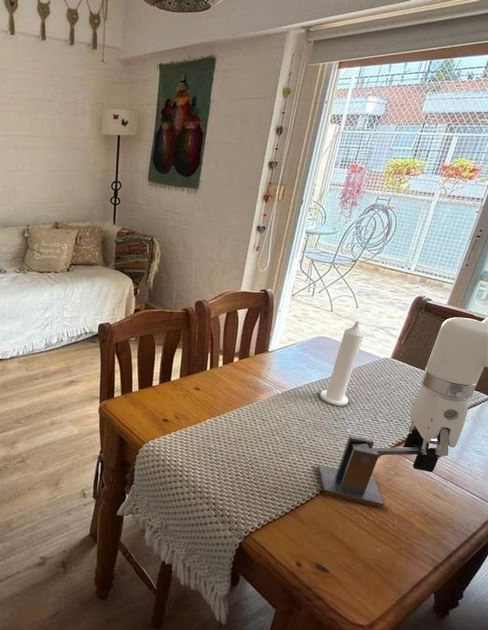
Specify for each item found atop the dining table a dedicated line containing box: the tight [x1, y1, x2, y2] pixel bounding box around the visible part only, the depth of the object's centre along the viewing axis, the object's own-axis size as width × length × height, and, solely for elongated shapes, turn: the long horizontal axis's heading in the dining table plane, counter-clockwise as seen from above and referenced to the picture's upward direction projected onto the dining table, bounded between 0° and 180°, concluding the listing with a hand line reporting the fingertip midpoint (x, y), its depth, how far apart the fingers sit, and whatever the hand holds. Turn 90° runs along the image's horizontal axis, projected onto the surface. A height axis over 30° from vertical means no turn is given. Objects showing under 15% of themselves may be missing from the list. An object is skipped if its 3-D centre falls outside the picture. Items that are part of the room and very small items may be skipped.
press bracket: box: [317, 435, 385, 509], centre depth 94 cm, size 11×8×12 cm
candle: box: [319, 320, 365, 407], centre depth 123 cm, size 7×7×25 cm
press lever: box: [352, 441, 422, 456], centre depth 90 cm, size 12×5×2 cm, turn 69°
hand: (417, 459), depth 89 cm, fingers closed on press lever, 5 cm apart
